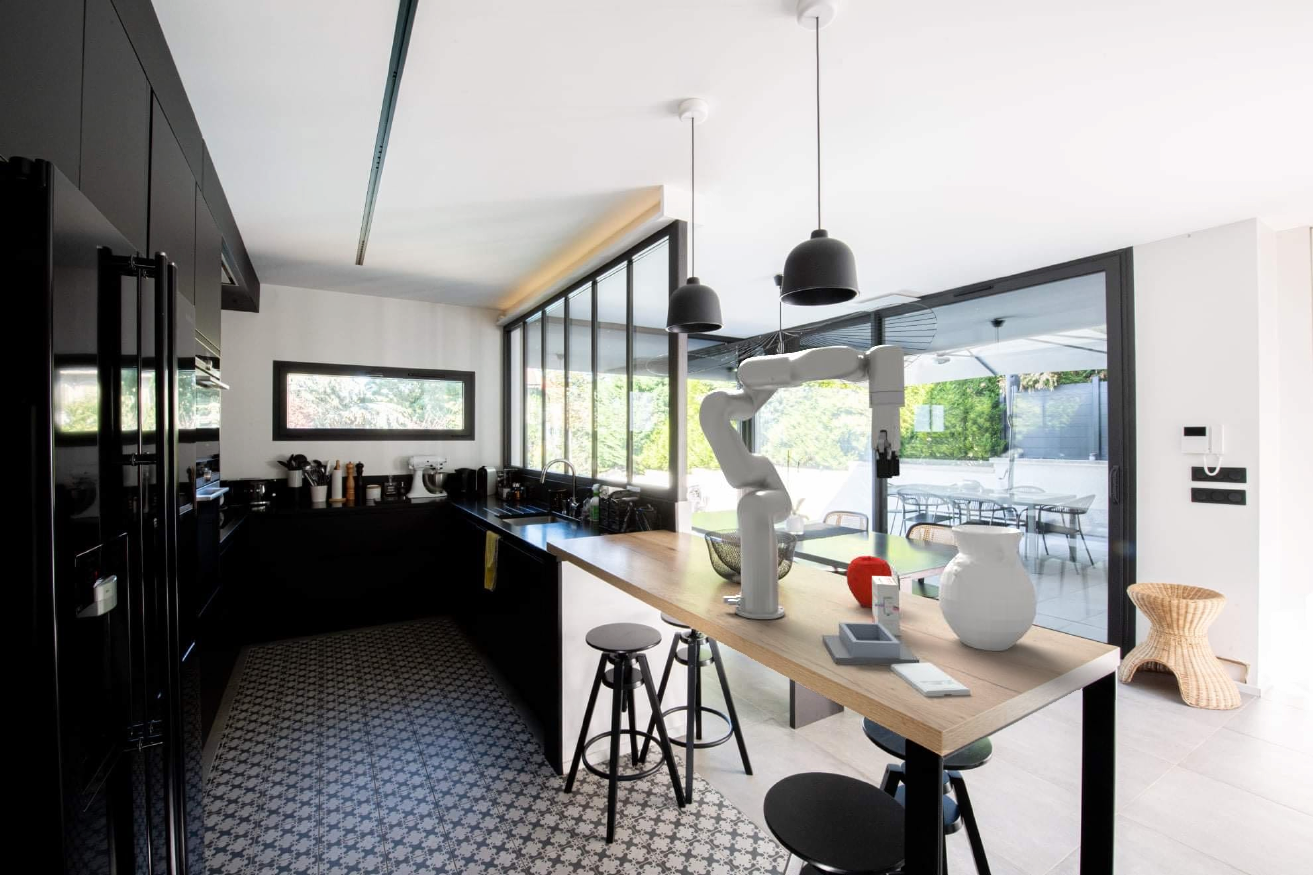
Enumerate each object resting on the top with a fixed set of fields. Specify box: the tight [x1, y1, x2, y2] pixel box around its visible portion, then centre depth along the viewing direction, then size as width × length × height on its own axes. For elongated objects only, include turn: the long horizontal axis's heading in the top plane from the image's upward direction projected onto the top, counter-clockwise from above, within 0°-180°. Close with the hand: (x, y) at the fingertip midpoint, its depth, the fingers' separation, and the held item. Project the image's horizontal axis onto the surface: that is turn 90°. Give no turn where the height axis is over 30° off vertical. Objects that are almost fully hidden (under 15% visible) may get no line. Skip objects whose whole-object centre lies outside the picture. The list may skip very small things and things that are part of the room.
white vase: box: [938, 524, 1037, 652], centre depth 128 cm, size 19×18×25 cm
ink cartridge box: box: [871, 564, 901, 637], centre depth 138 cm, size 9×5×15 cm, turn 168°
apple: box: [846, 555, 892, 608], centre depth 159 cm, size 12×12×13 cm
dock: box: [821, 621, 920, 666], centre depth 123 cm, size 16×14×4 cm
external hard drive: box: [890, 662, 971, 697], centre depth 108 cm, size 2×8×12 cm
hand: (888, 477), depth 132 cm, fingers open, 9 cm apart
